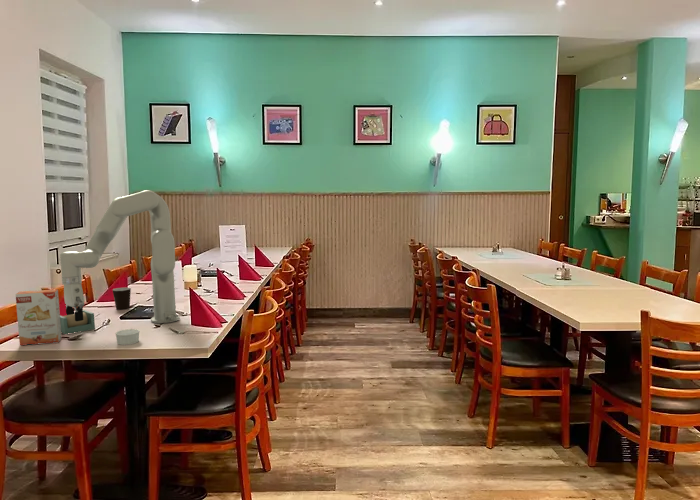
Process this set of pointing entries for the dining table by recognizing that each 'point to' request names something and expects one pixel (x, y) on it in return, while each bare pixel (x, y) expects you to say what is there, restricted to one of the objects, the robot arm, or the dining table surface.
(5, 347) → the dining table surface
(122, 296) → the coffee mug
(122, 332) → the ramekin
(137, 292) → the dining table surface
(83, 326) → the roll holder
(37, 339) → the cracker box
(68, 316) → the paper roll
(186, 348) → the dining table surface
